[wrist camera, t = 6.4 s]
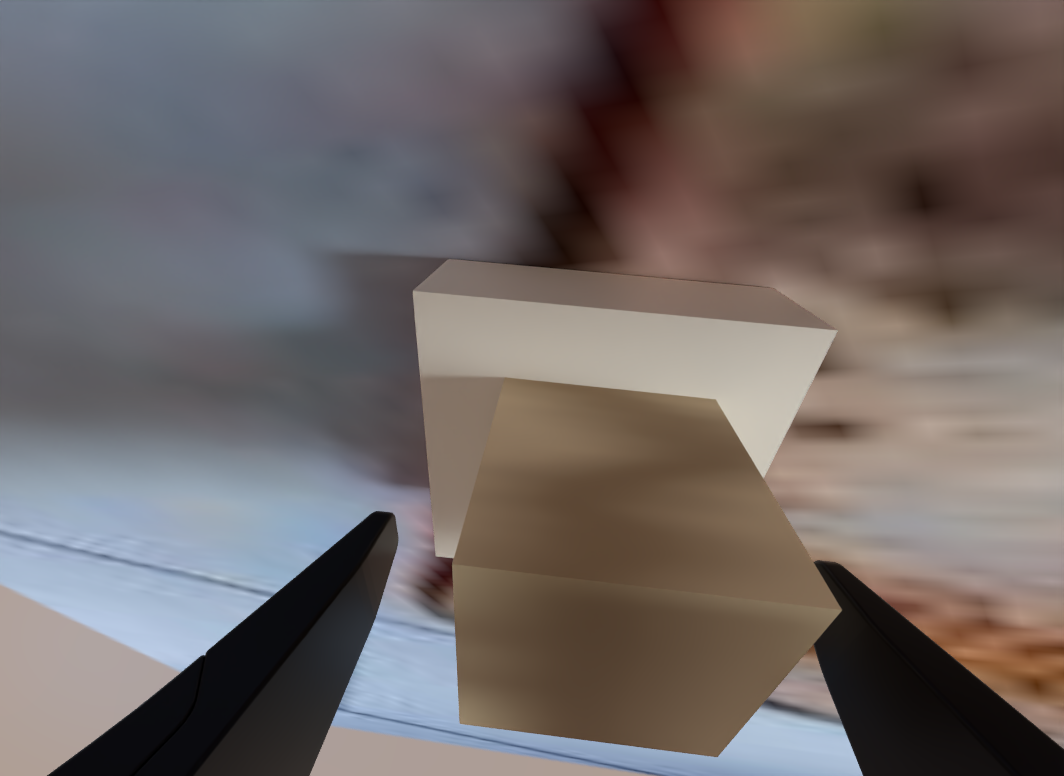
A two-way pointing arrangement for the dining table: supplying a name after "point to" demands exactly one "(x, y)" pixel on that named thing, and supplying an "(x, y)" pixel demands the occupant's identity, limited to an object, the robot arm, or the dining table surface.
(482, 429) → the ceramic trivet
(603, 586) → the maple cube
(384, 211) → the dining table surface
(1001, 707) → the robot arm
